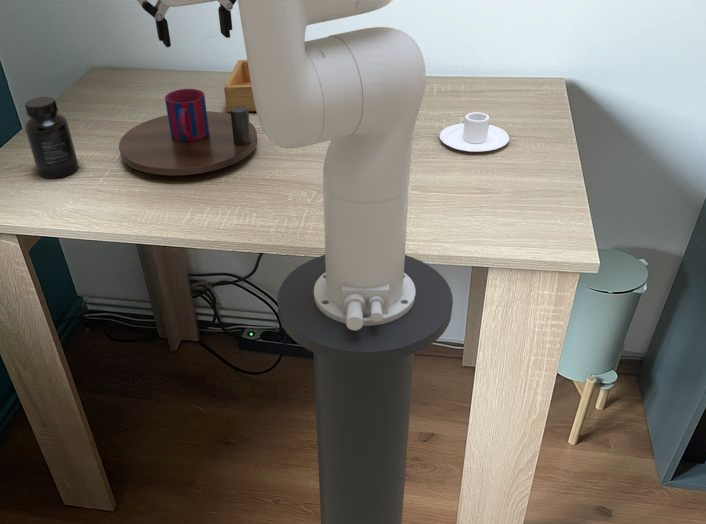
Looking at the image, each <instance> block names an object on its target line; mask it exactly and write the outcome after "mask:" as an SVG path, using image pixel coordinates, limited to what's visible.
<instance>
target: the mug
mask: <svg viewBox="0 0 706 524" xmlns="http://www.w3.org/2000/svg"><path fill="white" fill-rule="evenodd" d="M164 101H165V108H166V113H167V114H166V115H168V120H169V126H170V132H171V137H172V138H173V139H175V140H178V141H185V142H186V141H196V140H199V139H202V138H204V137H206V136H207V135H208V134H209V127H208V119H207V105H206V96H205V93H204V92H203V91H202V90H201V89H197V88H180V89H175V90H172V91H170V92H168V93H167V94H165V96H164Z"/></svg>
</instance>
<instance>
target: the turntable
mask: <svg viewBox="0 0 706 524" xmlns="http://www.w3.org/2000/svg"><path fill="white" fill-rule="evenodd" d="M206 111H207V110H206ZM249 113H250V111H248V107H246V106H241V105H240V106H234V107H232V108H231V109H230V112H229V113H228V112H227V113H226V112H222V111H221V112H220V111H211V110H210V111H207V119H208V127H209V134H208V135H207V136H206V137H204V138H202V139H199V140H196V141H186V142H185V141H178V140H175V139H173V138H172V137H171V132H170V126H169V120H168V114H165V115H161V116H158V117H154V118H152V119H149V120H146V121H143V122H141V123H139V124H137V125H135V126H134V127H132V128H131V129H129V130H128V131H127V132H126V133H125V134H124V135H122V137H121V139H120V141H119V143H118V149H119V150H118V151H119V153H120V158H121V159H122V161H123V162H124V163H125V164H126V165H128V166H129V167H131V168H133V169H134V170H136V171H140V172H144V173H147V174H152V175H159V176H160V175H161V176H189V175H191V176H192V175H198V174H199V175H200V174H204V173H210V172H214V171H217V170H221V169H224V168H227V167H229V166H232V165H234V164H236V163H239V162H240V161H242V160H244V159H245V158H247V157H248V156H250V154H251V153H252V152H253V151H254V150H255V148H256V147H257V144H258V132H257V129H256V127H255V125H253V123H251V122H250V114H249Z"/></svg>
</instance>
